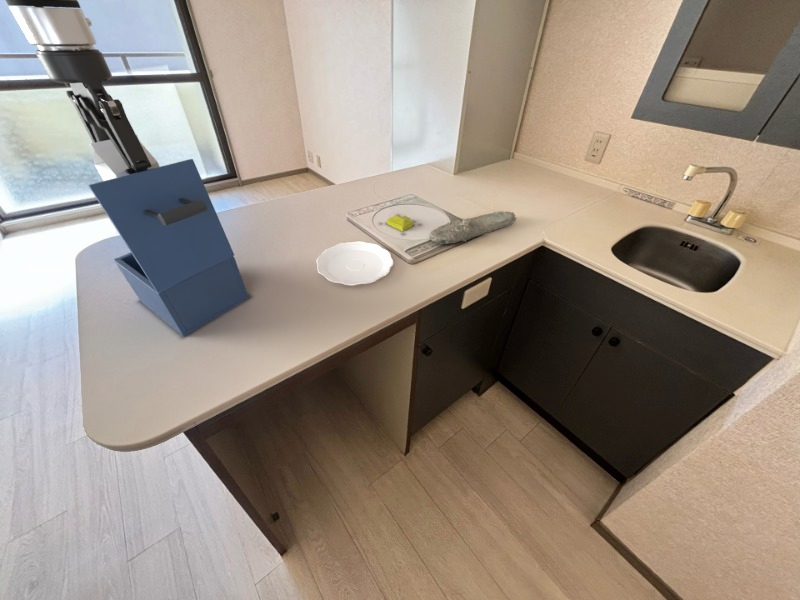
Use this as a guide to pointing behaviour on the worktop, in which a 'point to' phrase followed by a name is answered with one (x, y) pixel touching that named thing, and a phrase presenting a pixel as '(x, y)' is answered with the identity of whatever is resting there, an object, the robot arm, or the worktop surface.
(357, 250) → the plate
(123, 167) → the milk carton
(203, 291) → the cool box
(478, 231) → the elongated rock
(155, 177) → the cool box lid
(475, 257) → the worktop surface
